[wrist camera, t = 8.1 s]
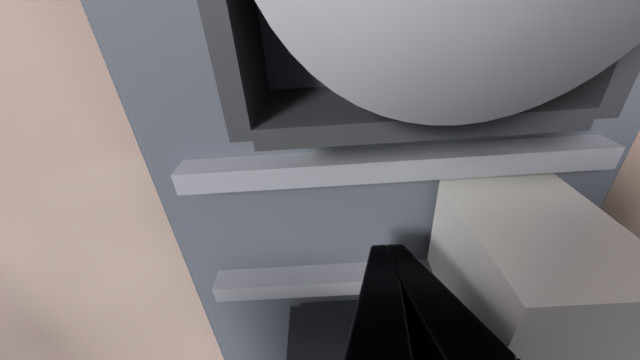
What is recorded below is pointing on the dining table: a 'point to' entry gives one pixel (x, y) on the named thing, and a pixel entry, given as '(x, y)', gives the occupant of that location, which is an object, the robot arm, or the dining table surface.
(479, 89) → the button grey
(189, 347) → the dining table surface
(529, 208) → the lever ivory
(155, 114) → the control panel
